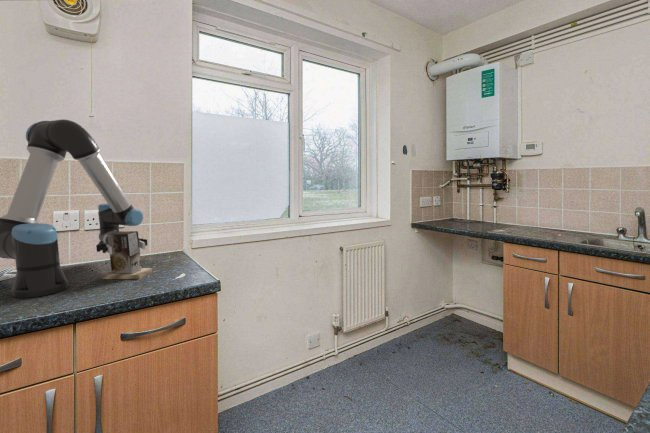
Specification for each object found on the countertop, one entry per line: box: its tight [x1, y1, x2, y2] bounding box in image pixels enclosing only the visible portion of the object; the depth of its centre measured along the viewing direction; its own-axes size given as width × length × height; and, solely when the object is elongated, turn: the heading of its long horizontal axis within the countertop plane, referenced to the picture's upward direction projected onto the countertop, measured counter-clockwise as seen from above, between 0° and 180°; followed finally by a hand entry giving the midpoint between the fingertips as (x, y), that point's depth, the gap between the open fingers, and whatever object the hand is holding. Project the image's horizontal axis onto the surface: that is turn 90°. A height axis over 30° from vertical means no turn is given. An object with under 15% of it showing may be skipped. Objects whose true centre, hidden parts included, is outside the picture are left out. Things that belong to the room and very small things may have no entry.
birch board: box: [100, 267, 153, 280], centre depth 137 cm, size 15×10×2 cm, turn 91°
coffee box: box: [107, 230, 143, 273], centre depth 136 cm, size 9×6×16 cm
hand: (128, 248), depth 133 cm, fingers open, 11 cm apart
